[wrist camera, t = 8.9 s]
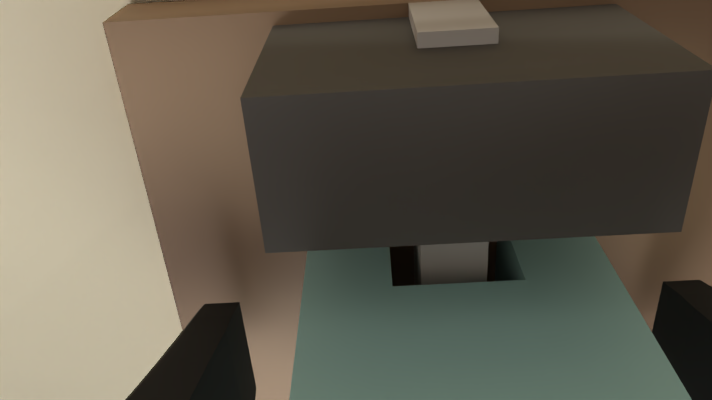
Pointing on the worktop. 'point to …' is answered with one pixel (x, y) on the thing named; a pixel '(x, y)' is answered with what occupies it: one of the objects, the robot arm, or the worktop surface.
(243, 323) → the robot arm
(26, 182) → the worktop surface
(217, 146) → the track
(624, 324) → the block
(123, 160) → the worktop surface
